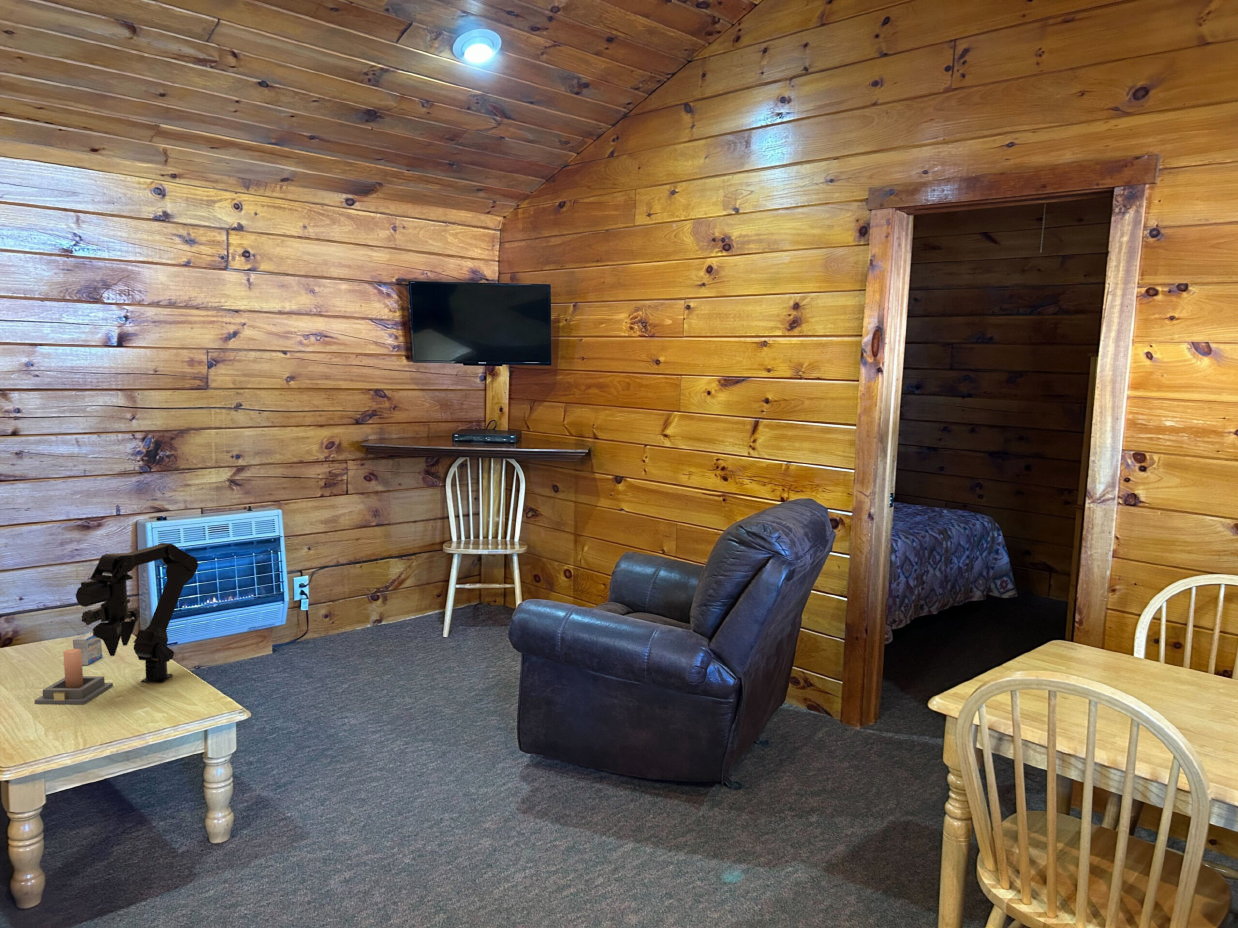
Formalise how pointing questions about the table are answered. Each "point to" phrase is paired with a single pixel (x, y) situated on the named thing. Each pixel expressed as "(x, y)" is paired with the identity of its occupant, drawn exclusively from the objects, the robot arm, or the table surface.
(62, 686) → the gray square tray
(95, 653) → the medicine box
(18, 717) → the table surface
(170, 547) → the robot arm
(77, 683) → the terracotta peg
